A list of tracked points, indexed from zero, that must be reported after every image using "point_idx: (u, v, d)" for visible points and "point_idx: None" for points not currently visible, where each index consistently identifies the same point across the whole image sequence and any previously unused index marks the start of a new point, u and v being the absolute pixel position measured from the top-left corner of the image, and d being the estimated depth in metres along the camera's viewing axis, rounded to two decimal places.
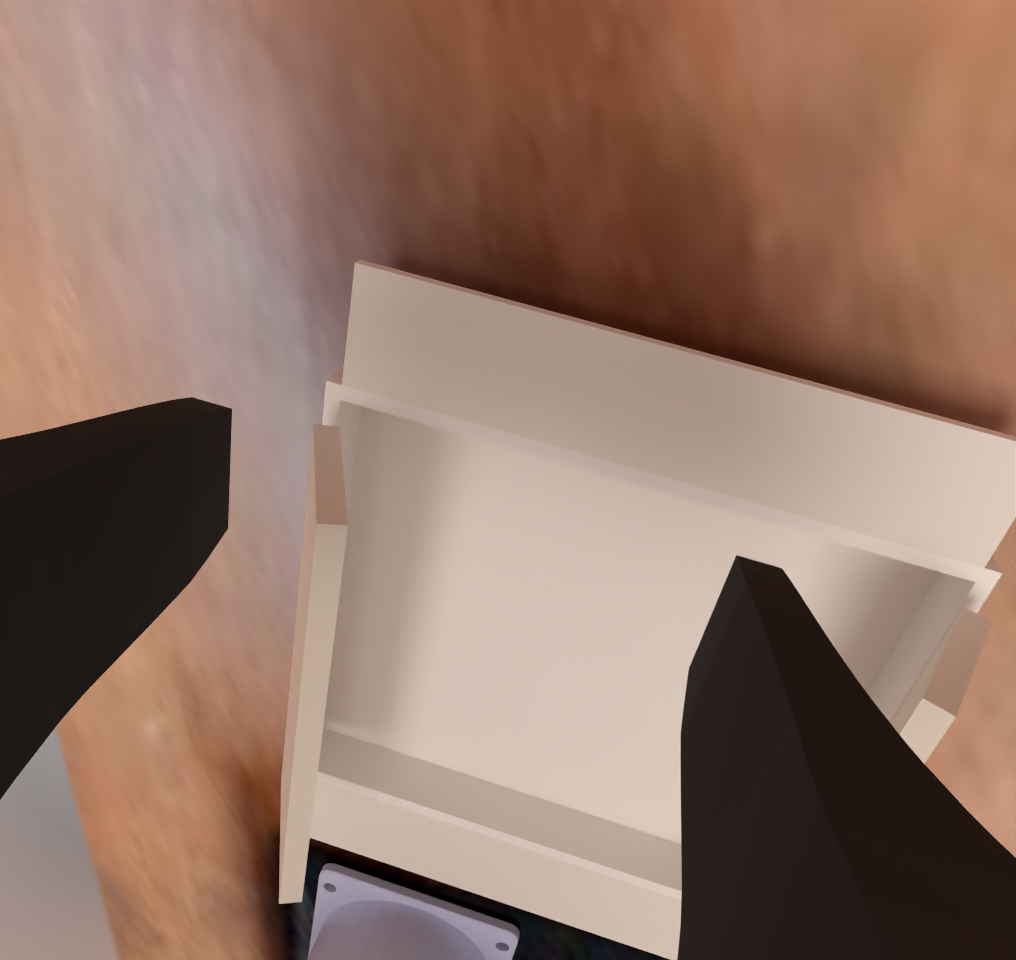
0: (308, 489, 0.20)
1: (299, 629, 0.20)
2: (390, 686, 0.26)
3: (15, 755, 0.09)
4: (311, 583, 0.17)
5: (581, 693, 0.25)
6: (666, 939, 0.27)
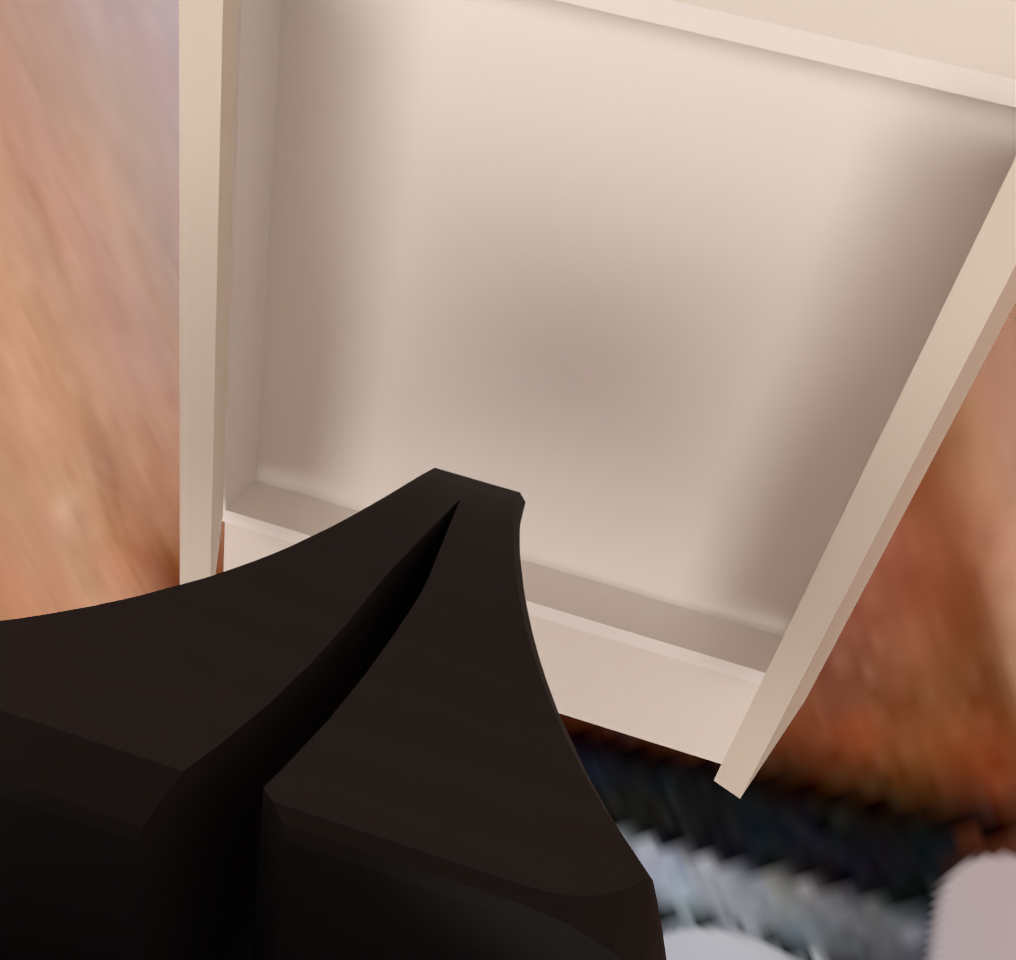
0: None
1: None
2: (332, 412, 0.22)
3: None
4: (180, 54, 0.12)
5: (560, 399, 0.20)
6: (665, 719, 0.22)
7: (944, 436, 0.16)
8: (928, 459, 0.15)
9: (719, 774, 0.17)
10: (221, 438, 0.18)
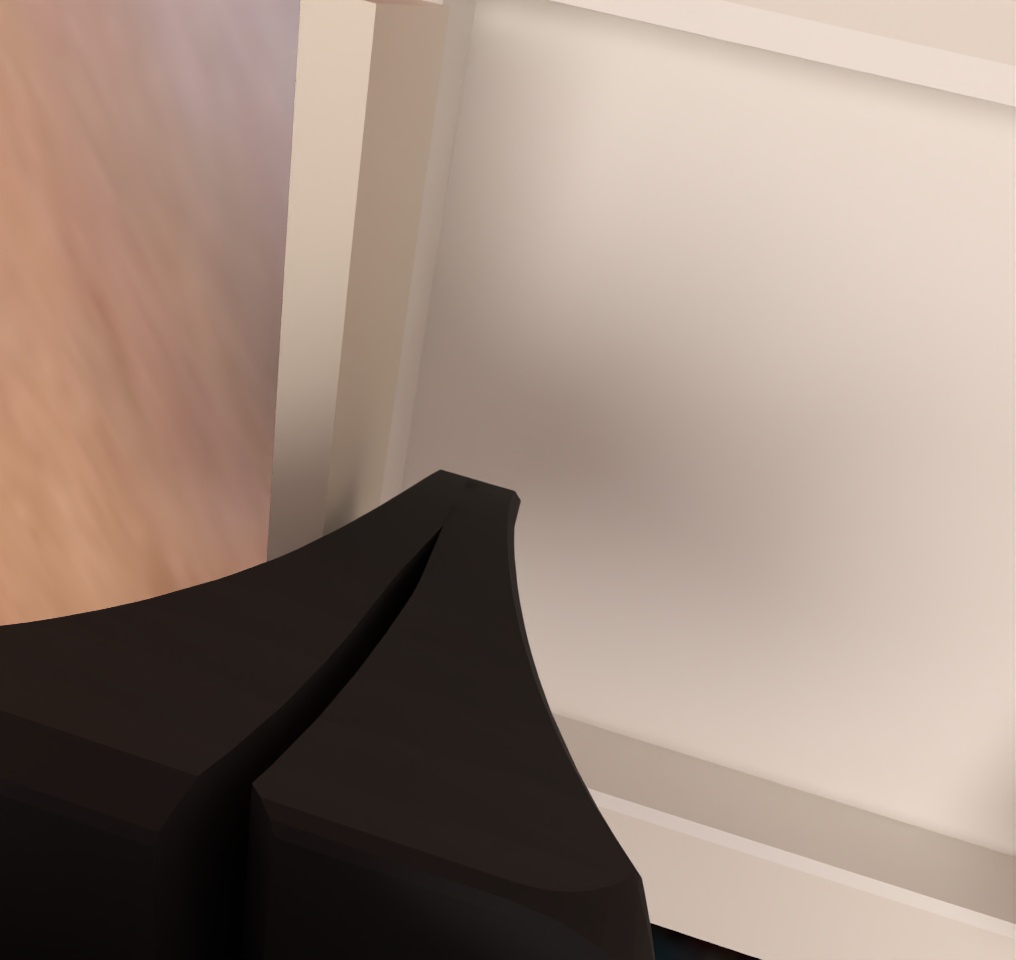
0: None
1: None
2: None
3: None
4: (292, 180, 0.07)
5: (804, 586, 0.15)
6: None
7: None
8: None
9: None
10: None
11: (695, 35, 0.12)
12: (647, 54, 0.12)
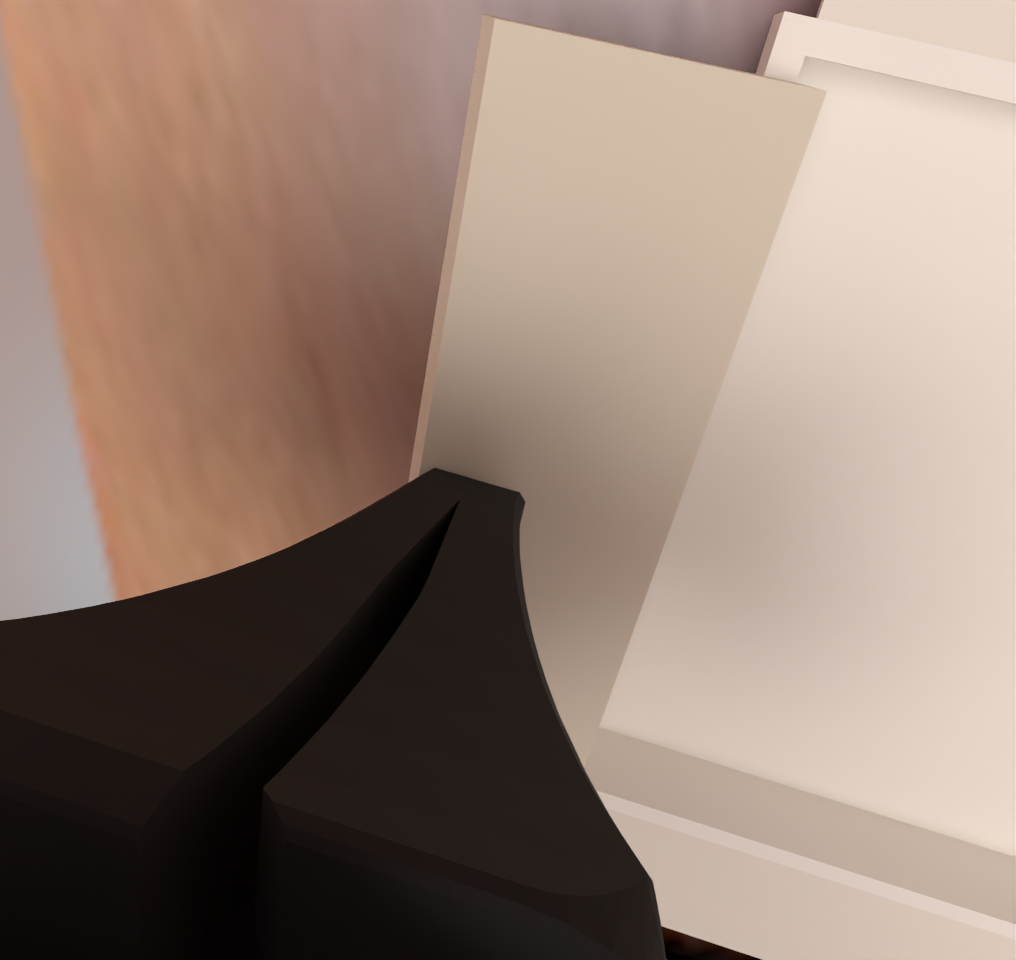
0: None
1: None
2: (704, 651, 0.16)
3: None
4: (460, 159, 0.10)
5: None
6: None
7: None
8: None
9: None
10: None
11: None
12: (970, 127, 0.11)
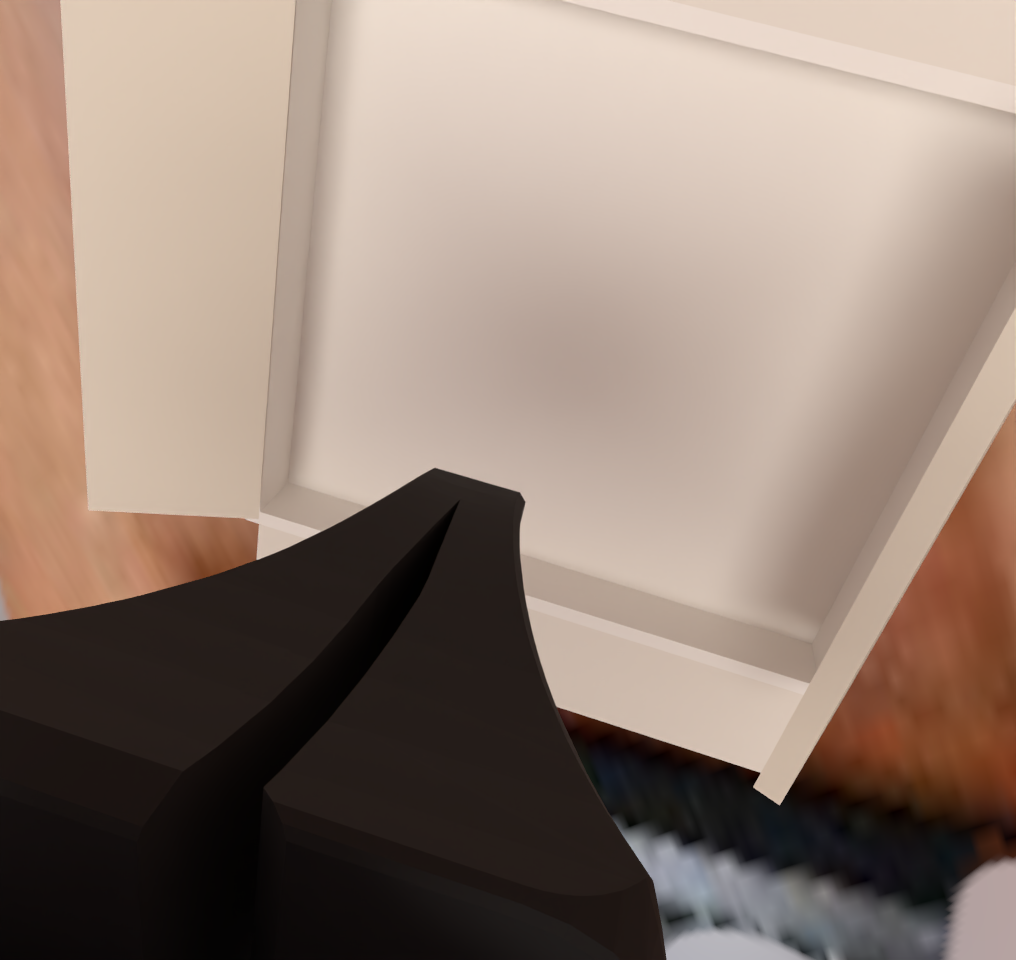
0: None
1: None
2: (368, 416, 0.22)
3: None
4: None
5: (598, 406, 0.20)
6: (694, 724, 0.22)
7: None
8: None
9: (759, 781, 0.17)
10: (201, 406, 0.19)
11: None
12: None
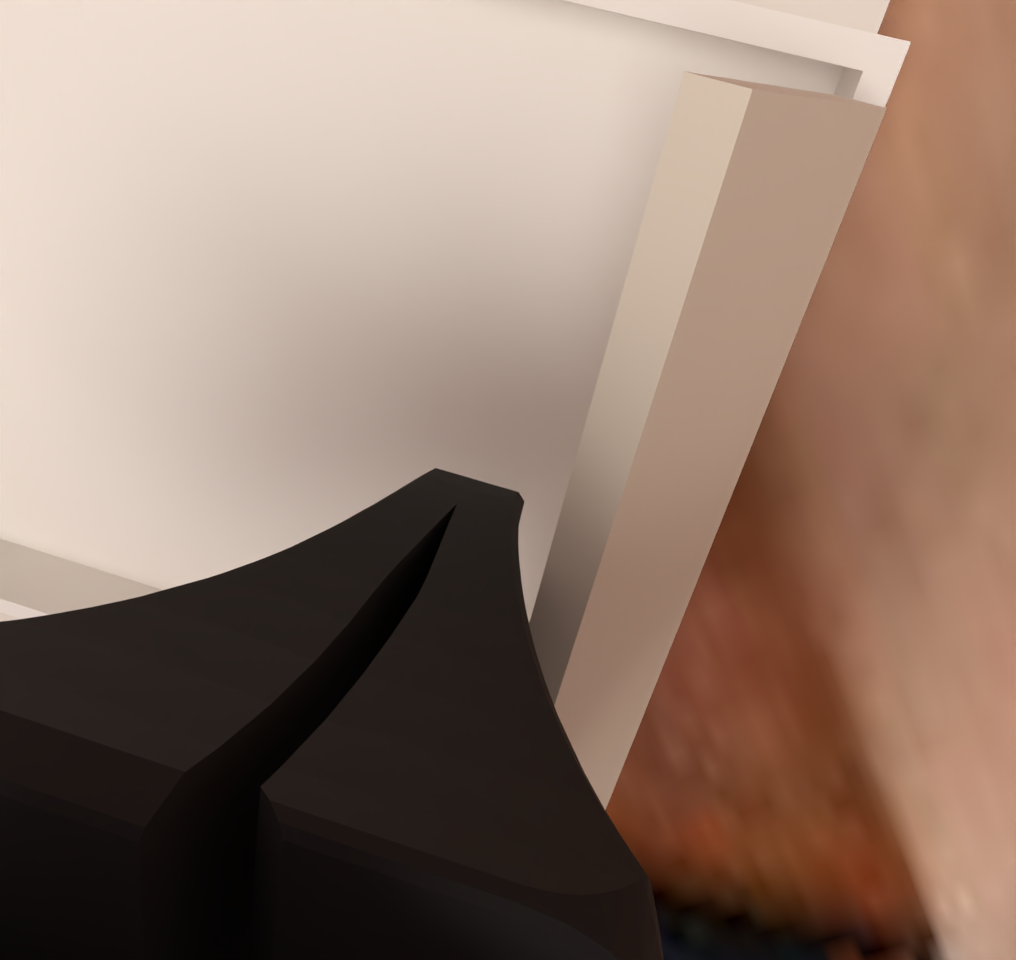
0: None
1: None
2: (43, 451, 0.18)
3: None
4: None
5: (303, 439, 0.16)
6: None
7: (725, 505, 0.12)
8: (690, 541, 0.11)
9: None
10: None
11: None
12: None
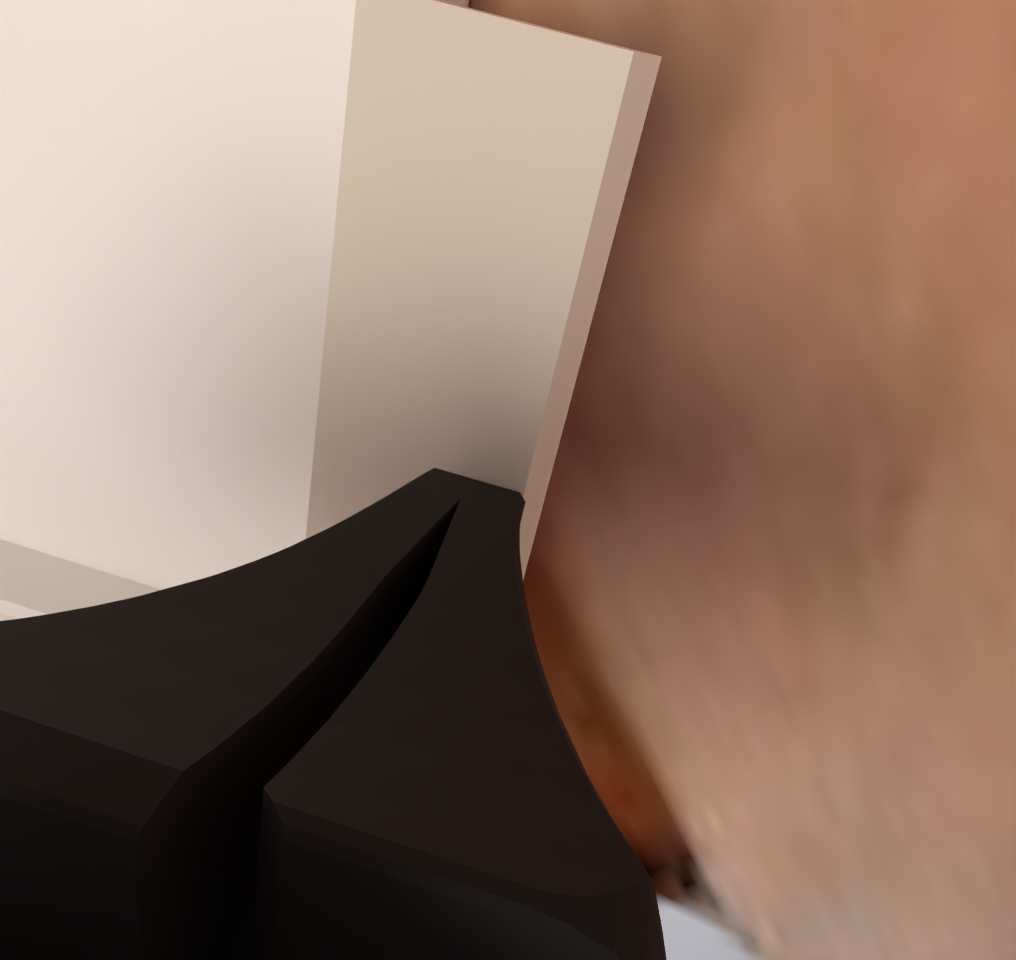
0: None
1: None
2: None
3: None
4: None
5: (32, 360, 0.17)
6: None
7: None
8: None
9: None
10: None
11: None
12: None
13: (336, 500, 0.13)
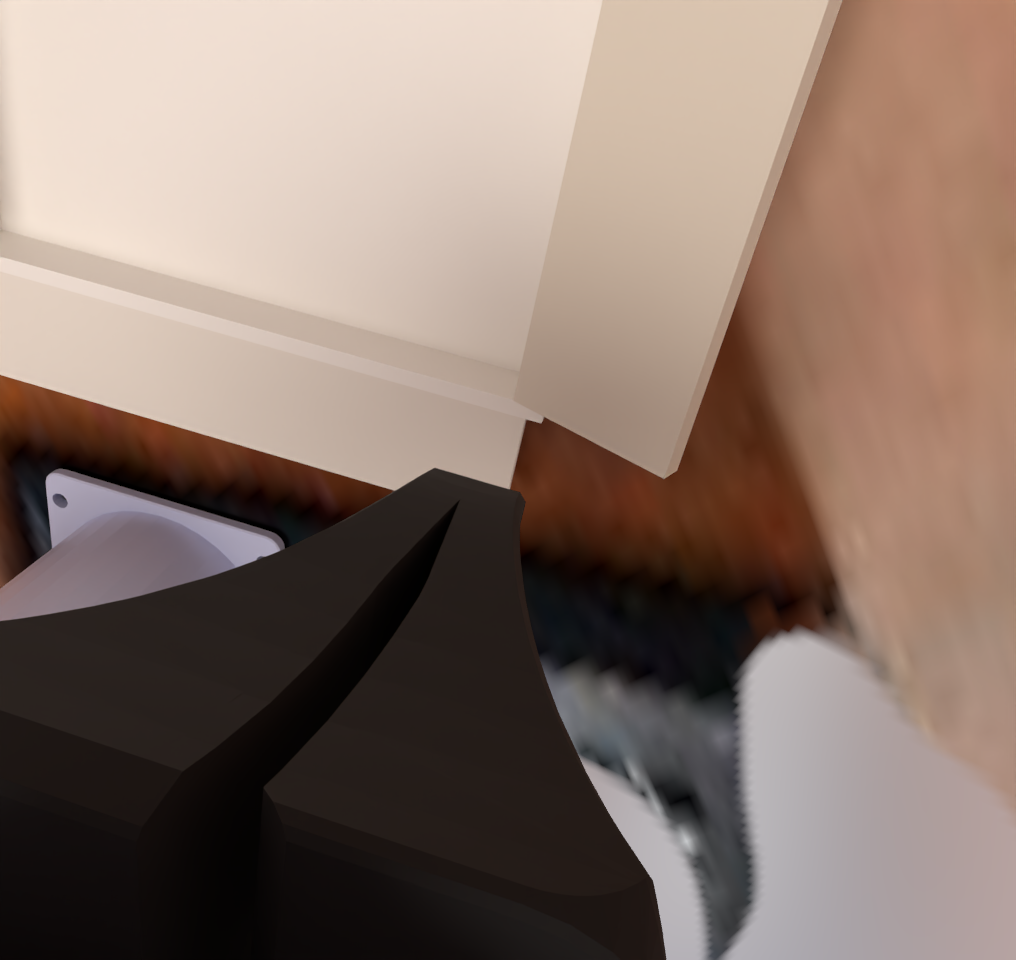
0: None
1: None
2: (64, 139, 0.21)
3: None
4: None
5: (284, 102, 0.19)
6: (418, 465, 0.21)
7: None
8: None
9: (669, 468, 0.17)
10: None
11: None
12: None
13: (593, 165, 0.16)
